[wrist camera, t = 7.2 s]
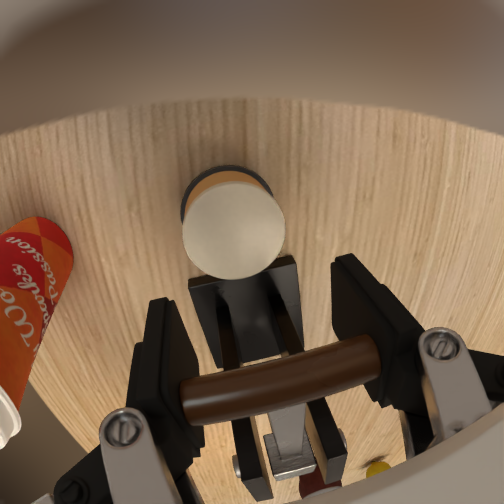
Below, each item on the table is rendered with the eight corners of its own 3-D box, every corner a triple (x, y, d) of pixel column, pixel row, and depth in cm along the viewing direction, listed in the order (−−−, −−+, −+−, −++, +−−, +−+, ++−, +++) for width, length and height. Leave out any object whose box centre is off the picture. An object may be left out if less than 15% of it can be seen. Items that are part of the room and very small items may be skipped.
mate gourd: (339, 453, 43) (367, 523, 30) (315, 472, 46) (338, 536, 32) (303, 455, 41) (328, 534, 27) (281, 474, 43) (300, 545, 30)
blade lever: (175, 352, 8) (182, 438, 6) (358, 307, 8) (396, 381, 6) (244, 450, 15) (252, 486, 14) (325, 430, 16) (337, 464, 14)
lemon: (392, 450, 49) (410, 486, 40) (381, 462, 52) (396, 496, 43) (365, 459, 48) (382, 497, 39) (355, 470, 50) (370, 506, 42)
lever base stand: (188, 279, 23) (193, 469, 10) (291, 255, 23) (386, 419, 10) (216, 359, 27) (238, 513, 14) (301, 339, 28) (361, 481, 15)
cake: (170, 177, 19) (164, 194, 16) (266, 156, 20) (282, 168, 16) (193, 261, 22) (194, 293, 19) (279, 242, 23) (295, 269, 19)
